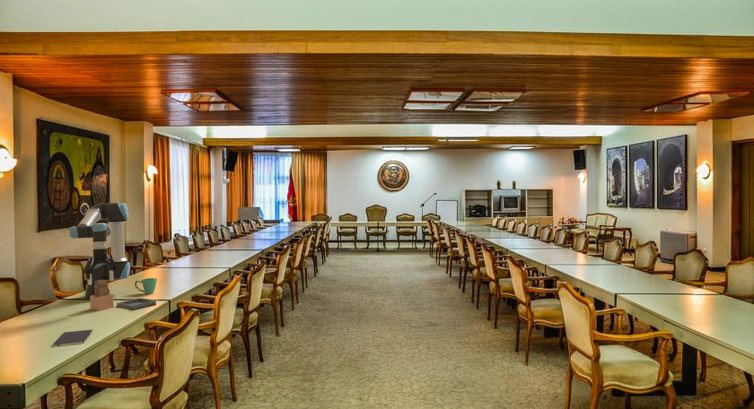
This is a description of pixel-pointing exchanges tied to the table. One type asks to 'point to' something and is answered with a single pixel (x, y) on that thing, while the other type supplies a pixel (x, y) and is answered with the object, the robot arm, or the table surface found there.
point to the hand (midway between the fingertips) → (101, 282)
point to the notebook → (72, 337)
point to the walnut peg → (101, 288)
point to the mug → (147, 285)
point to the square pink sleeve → (101, 302)
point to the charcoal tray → (137, 303)
